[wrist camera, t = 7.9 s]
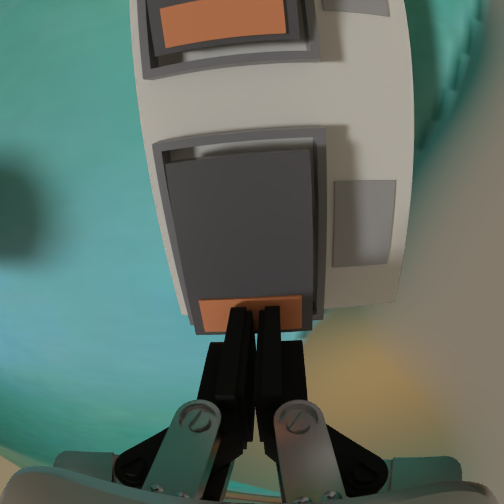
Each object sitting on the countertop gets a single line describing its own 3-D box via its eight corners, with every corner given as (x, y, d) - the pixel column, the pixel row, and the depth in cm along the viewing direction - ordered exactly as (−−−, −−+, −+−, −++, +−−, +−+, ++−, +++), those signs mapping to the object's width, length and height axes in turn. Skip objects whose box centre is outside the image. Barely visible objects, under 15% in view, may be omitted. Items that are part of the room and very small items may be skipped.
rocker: (174, 160, 10) (164, 164, 9) (305, 148, 10) (310, 151, 9) (200, 319, 12) (195, 336, 11) (309, 315, 12) (312, 331, 11)
